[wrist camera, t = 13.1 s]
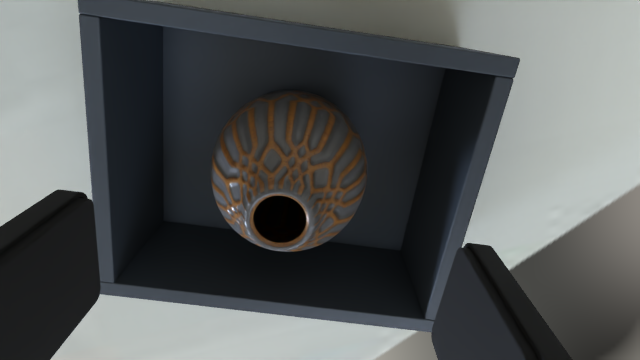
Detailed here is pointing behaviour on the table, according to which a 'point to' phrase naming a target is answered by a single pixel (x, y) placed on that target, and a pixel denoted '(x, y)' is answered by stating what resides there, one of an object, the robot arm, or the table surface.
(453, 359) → the robot arm
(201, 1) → the table surface
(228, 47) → the dark grey open box
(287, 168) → the vase
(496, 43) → the table surface
